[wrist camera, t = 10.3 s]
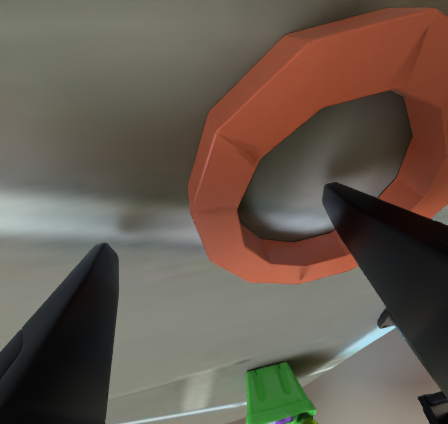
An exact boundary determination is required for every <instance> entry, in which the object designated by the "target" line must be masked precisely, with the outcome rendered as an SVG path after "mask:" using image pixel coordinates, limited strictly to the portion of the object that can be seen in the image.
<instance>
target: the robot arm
mask: <svg viewBox="0 0 448 424" xmlns="http://www.w3.org/2000/svg"><path fill="white" fill-rule="evenodd" d="M322 203H323V206H324V208H325V210H326V212H327V214H328V216H329V218H330V220H331V222H332V223H333V225H334V227H335V229H336V231H337V233H338V235H339V237H340V238H341V240H342V241H343V243H344V244H345V246H346V247H347V249H348V250H349V252H350V253H351V255H352V256H353V258H354V259H355V261H356V262H357V264H358V265H359V267H360V268H361V270H362V271H363V273H364V274H365V276H366V277H367V279H368V280H369V282H370V283H371V285H372V286H373V288H374V289H375V291H376V292H377V294H378V295H379V297H380V298H381V300H382V301H383V303H384V304H385V306H386V307H387V310H386V312H385V313H384V315H383V316H382V317H381V319H380V320H379V322H378V323H377V325H378V326H379V328H380V329H382V328H386V327H390V326H394V325H395V327H396V328H397V329H398V331H399V332H400V334H401V335H402V336H403V338H404V339H405V341H406V342H407V343H408V345H409V346H410V348H411V349H412V351H413V352H414V353H415V355H416V356H417V357H418V359H419V360H420V362H421V363H422V365H423V366H424V367H425V369H426V370H427V372H428V373H429V374H430V376H431V377H432V379H433V380H434V382H435V383H436V384H437V386H438V387H439V389H440V390H441V392H437V393H434V394H426V395H422V396H418V400H419V401H420V403H421V405H422V407H423V411H424V413H425V415H426V417H427V419H428V421H429V423H430V424H448V225H445V224H443V223H440V222H437V221H433V220H432V219H430V218H427V217H425V216H422V215H419V214H417V213H414V212H412V211H409V210H407V209H404V208H401V207H399V206H396V205H394V204H391V203H389V202H386V201H384V200H381V199H378V198H376V197H373V196H371V195H368V194H366V193H363V192H360V191H358V190H355V189H353V188H350V187H348V186H345V185H343V184H340V183H337V182H332V183H328V184H326V185H325V186H324V190H323V197H322ZM118 297H119V259H118V255H117V254H116V252H115V251H114V250H113V249H112V248H111V247H110V245H109V244H108V243H101V244H97V245H95V246H94V247H93V248H92V249H91V250H90V251H89V253H88V254H87V255H86V256H85V257H84V258H83V259H82V260H81V262H80V263H79V264H78V265H77V266H76V267H75V268H74V270H73V271H72V272H71V273H70V274H69V275H68V276H67V277H66V279H65V280H64V281H63V282H62V283H61V284H60V285H59V286H58V288H57V289H56V290H55V291H54V292H53V293H52V294H51V296H50V297H49V298H48V299H47V300H46V301H45V302H44V303H43V305H42V306H41V307H40V308H39V309H38V310H37V311H36V312H35V314H34V315H33V316H32V317H31V318H30V319H29V320H28V322H27V323H26V324H25V325H24V326H23V327H22V330H20V331H19V332H18V333H17V334H16V335H15V336H14V337H13V338H12V340H11V341H10V342H9V343H8V344H7V345H6V346H5V347H4V348H3V350H2V351H1V352H0V424H105V420H106V411H107V401H108V392H109V382H110V373H111V363H112V354H113V345H114V335H115V326H116V316H117V307H118Z"/></svg>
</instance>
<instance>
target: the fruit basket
mask: <svg viewBox="0 0 448 424" xmlns="http://www.w3.org/2000/svg"><path fill="white" fill-rule="evenodd" d="M315 413H316V409H315V407H314V405H313V404H312V402H311V401H310V400H309V399H308V398H307V396H306V394H305V392H304V391H303V389H302V387H301V385H300V384H299V382H298V380H297V378H296V377H295V375H294V373H293V371H292V370H291V368H290V366H289V365H288V363H287V362H283V363H280V364H276V365H271V366H267V367H263V368H259V369H257V370H252V371H248V372H247V416H246V424H318V423H317V422H316V421H315V420H313V416H314V414H315Z"/></svg>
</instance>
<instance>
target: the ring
mask: <svg viewBox="0 0 448 424" xmlns="http://www.w3.org/2000/svg"><path fill="white" fill-rule="evenodd" d="M388 90H390V91H392V92H395V93H397V94H399V95H401V96H403V97H404V100H405V104H406V108H407V112H408V116H409V121H410V125H411V129H412V133H413V137H412V139H411V142H410V145H409V147H408V150H407V152H406V155H405V157H404V160H403V162H402V165H401V168H400V170H399V173H398V175H397V178H396V179H395V180H394V181H393V182H392V183H391V184H390V185H389V187H388V188H387V189H386V190H385V191H384V192H383V193H382V194H381V195H380V196H379V198H378V199H381V200H384V201H386V202H389V203H391V204H394V205H396V206H399V207H401V208H404V209H407V210H409V211H412V212H414V213H417V214H419V215H422V216H425V217H427V218H430V219H431V218H432V217H433V216H434V215H435V214H436V213H438V212H439V211H440V210H441V209H442V208H443V207H445V206H446V205H447V204H448V16H447V15H445V14H444V13H442V12H441V11H440V10H438V9H437V8H433V7H431V8H385V9H381V10H377V11H373V12H369V13H366V14H362V15H358V16H354V17H350V18H347V19H343V20H339V21H335V22H331V23H328V24H324V25H320V26H316V27H312V28H309V29H305V30H301V31H297V32H294V33H290V34H287V35H286V36H283V37H282V38H281V40H280V41H279V42H278V43H277V44H276V45H275V46H274V47H273V48H272V49H271V50H270V51H269V52H268V53H267V54H266V55H265V56H264V57H263V58H262V59H261V60H260V61H259V62H258V63H257V64H256V65H255V66H254V67H253V68H252V69H251V70H250V71H249V72H248V73H247V74H246V75H245V76H244V77H243V78H242V79H241V80H240V81H239V82H238V83H237V84H236V85H235V86H234V87H233V88H232V89H231V90H230V91H229V92H228V93H227V94H226V95H225V96H224V97H223V98H222V99H221V100H220V101H219V102H218V103H217V104H216V105H215V106H214V107H213V108H212V109H211V110H210V111H209V114H208V116H207V119H206V123H205V126H204V130H203V133H202V137H201V141H200V144H199V148H198V151H197V155H196V158H195V162H194V166H193V169H192V173H191V176H190V180H189V183H188V195H189V205H190V214H191V216H192V219H193V221H194V224H195V226H196V228H197V231H198V233H199V236H200V238H201V241H202V243H203V246H204V248H205V251H206V253H207V256H208V258H209V260H210V261H211V262H213V263H215V264H217V265H218V266H220V267H222V268H224V269H226V270H228V271H230V272H231V273H233V274H235V275H237V276H239V277H241V278H243V279H244V280H246V281H248V282H251V283H278V284H301V283H305V282H308V281H312V280H316V279H320V278H324V277H327V276H331V275H335V274H339V273H343V272H346V271H349V270H352V269H354V268H355V267H357V266H359V265H358V264H357V262H356V261H355V259H354V258H353V256H352V255H351V253H350V252H349V250H348V249H347V247H346V246H345V244H344V243H343V241H342V240H341V238H340V237H339V235H338V233H337V231H336V230H334V231H333V232H331V233H328V234H324V235H320V236H316V237H313V238H309V239H305V240H301V241H297V242H284V241H275V240H266V239H260V238H259V237H258V236H256V235H255V234H254V233H252V232H251V231H250V230H248V229H247V228H246V227H244V226H243V225H242V224H241V223H240V220H239V215H238V210H237V208H238V206H239V204H240V202H241V200H242V198H243V195H244V193H245V191H246V189H247V187H248V185H249V183H250V180H251V178H252V176H253V174H254V172H255V170H256V168H257V166H258V163H259V161H260V159H261V158H262V157H263V156H265V155H266V154H267V153H268V152H269V151H271V150H272V149H273V148H274V147H275V146H277V145H278V144H279V143H280V142H282V141H283V140H284V139H285V138H286V137H288V136H289V135H290V134H291V133H292V132H294V131H295V130H296V129H297V128H298V127H300V126H301V125H302V124H303V123H305V122H306V121H307V120H308V119H309V118H311V117H312V116H313V115H314V114H315V113H317V112H318V111H319V110H320V109H322V108H324V107H328V106H331V105H335V104H339V103H343V102H347V101H350V100H354V99H358V98H362V97H366V96H369V95H373V94H377V93H381V92H385V91H388Z"/></svg>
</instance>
